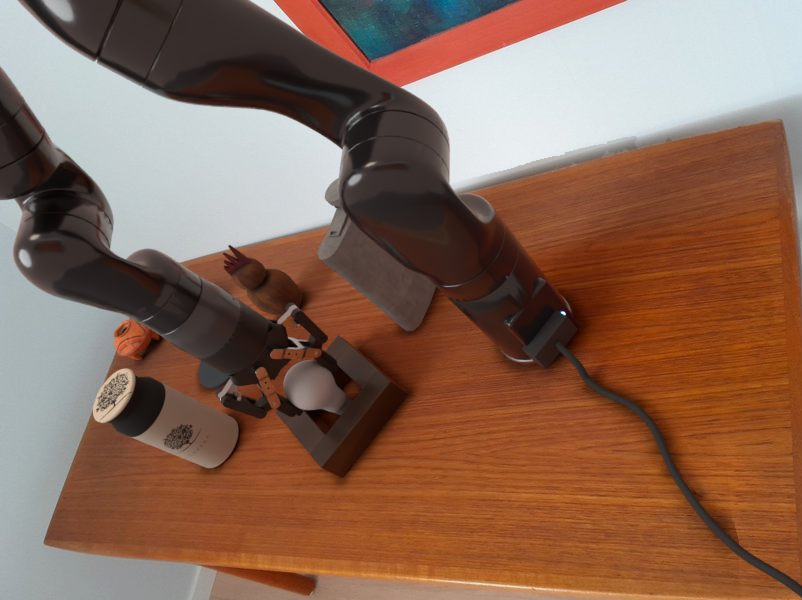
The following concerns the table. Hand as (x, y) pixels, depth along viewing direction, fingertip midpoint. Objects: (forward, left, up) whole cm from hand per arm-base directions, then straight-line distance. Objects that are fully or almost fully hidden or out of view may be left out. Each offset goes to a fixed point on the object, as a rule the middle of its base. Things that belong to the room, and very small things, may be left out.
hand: (316, 388), depth 82 cm
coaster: (+30, +9, -7) cm, 32 cm away
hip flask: (+4, -20, -7) cm, 22 cm away
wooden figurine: (+25, -5, -7) cm, 26 cm away
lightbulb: (0, 0, -7) cm, 7 cm away
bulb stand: (0, 0, -7) cm, 7 cm away
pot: (+52, +18, -7) cm, 55 cm away
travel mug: (+17, +17, -7) cm, 25 cm away
